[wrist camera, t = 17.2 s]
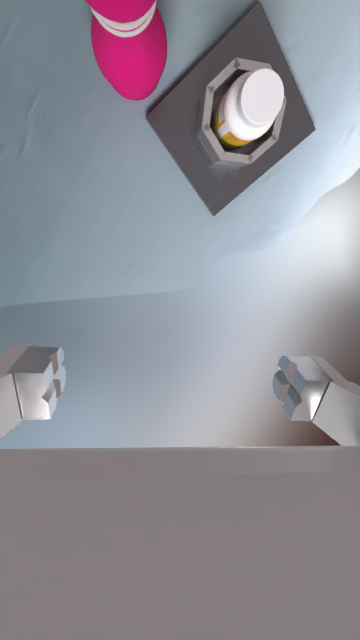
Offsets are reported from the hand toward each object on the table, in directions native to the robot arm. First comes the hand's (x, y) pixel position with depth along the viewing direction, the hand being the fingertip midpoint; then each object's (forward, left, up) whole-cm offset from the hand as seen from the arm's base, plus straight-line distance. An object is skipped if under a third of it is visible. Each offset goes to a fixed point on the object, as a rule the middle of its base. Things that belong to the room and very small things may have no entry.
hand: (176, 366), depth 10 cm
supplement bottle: (+16, +5, -30) cm, 35 cm away
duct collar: (+16, +5, -31) cm, 35 cm away
